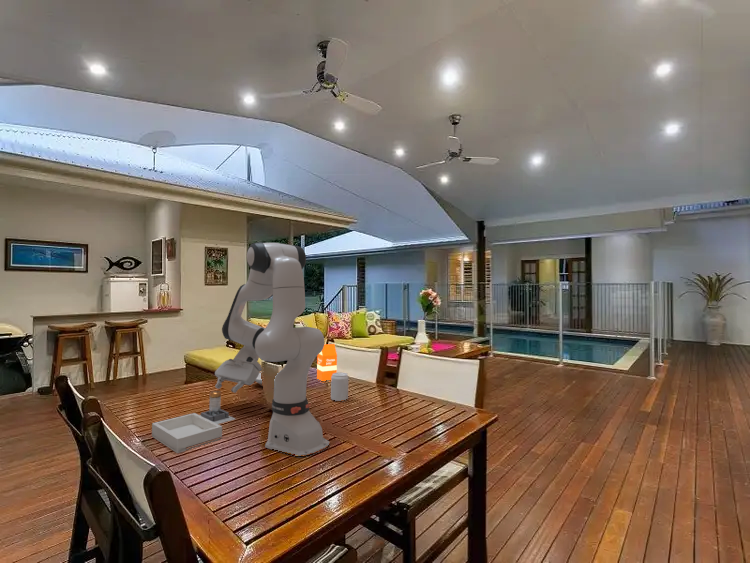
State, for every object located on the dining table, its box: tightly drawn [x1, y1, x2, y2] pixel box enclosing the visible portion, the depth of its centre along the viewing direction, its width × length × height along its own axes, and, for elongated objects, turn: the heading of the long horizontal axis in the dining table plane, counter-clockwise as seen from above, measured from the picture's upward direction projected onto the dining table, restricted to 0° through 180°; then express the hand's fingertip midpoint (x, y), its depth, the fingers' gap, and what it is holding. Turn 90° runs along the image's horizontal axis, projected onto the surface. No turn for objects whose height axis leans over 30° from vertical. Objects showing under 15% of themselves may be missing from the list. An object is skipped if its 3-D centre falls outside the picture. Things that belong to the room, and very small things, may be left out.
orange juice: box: [316, 343, 338, 382], centre depth 220 cm, size 8×9×20 cm
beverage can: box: [330, 371, 349, 402], centre depth 184 cm, size 8×8×12 cm
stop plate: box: [199, 408, 236, 425], centre depth 153 cm, size 14×10×3 cm
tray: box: [151, 412, 223, 454], centre depth 136 cm, size 20×15×4 cm
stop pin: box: [208, 390, 222, 417], centre depth 153 cm, size 4×4×10 cm
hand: (224, 389), depth 157 cm, fingers open, 8 cm apart
